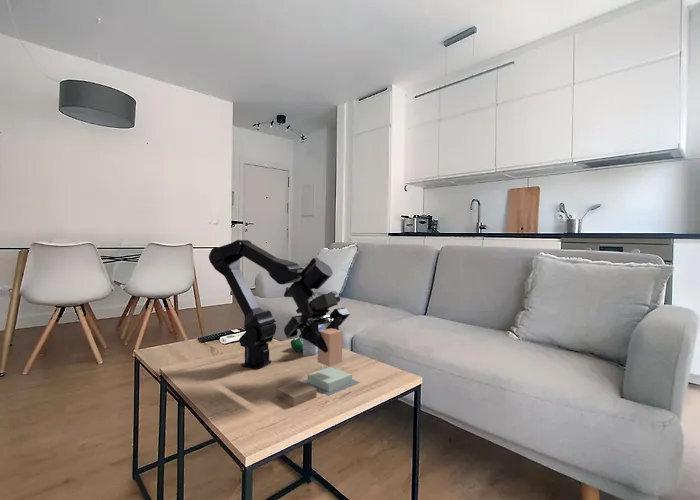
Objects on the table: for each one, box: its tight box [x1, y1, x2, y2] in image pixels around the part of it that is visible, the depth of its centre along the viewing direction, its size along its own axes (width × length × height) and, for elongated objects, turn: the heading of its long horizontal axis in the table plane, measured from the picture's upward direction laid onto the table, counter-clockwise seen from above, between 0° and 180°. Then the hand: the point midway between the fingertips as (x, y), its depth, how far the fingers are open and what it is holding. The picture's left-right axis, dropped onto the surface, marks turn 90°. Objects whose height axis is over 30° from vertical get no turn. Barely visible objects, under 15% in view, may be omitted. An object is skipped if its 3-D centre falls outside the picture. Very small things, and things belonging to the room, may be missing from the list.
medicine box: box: [302, 324, 324, 358], centre depth 117 cm, size 8×4×9 cm, turn 167°
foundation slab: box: [307, 366, 353, 392], centre depth 91 cm, size 8×8×2 cm
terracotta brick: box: [317, 328, 343, 367], centre depth 91 cm, size 4×4×8 cm
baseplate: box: [301, 378, 361, 397], centre depth 91 cm, size 11×11×1 cm
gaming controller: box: [290, 337, 303, 354], centre depth 122 cm, size 9×4×6 cm
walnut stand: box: [275, 380, 318, 407], centre depth 82 cm, size 6×6×3 cm
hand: (333, 349), depth 90 cm, fingers closed on terracotta brick, 4 cm apart
